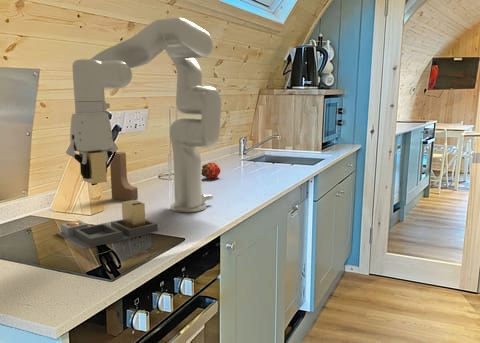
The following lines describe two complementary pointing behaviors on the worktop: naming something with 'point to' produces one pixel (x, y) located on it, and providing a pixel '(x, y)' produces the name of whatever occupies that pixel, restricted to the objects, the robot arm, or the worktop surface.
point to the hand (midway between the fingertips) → (94, 176)
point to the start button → (73, 223)
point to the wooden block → (121, 179)
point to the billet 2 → (133, 213)
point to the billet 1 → (96, 167)
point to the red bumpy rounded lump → (210, 170)
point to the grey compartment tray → (103, 232)
